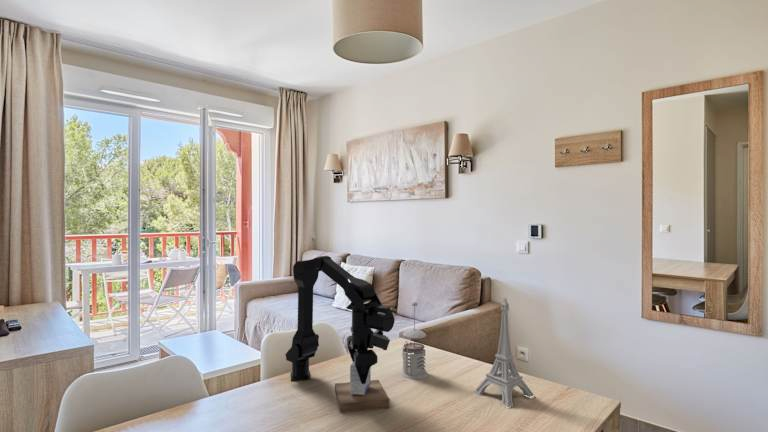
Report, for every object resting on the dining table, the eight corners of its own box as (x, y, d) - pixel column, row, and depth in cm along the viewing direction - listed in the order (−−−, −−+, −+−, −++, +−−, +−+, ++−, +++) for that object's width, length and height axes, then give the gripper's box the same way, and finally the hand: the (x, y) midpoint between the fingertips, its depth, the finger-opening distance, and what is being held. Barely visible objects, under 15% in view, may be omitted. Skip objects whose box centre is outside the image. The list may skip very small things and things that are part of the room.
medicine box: (364, 395, 119) (364, 366, 119) (349, 394, 120) (350, 364, 120) (370, 384, 127) (371, 356, 127) (356, 383, 128) (357, 355, 127)
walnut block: (334, 391, 128) (334, 383, 128) (378, 387, 132) (378, 379, 132) (340, 412, 115) (340, 403, 115) (389, 407, 118) (389, 399, 118)
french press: (432, 372, 145) (433, 301, 145) (417, 383, 135) (418, 307, 135) (408, 366, 150) (409, 298, 150) (391, 376, 140) (392, 303, 140)
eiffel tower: (500, 382, 137) (501, 292, 137) (535, 397, 126) (536, 299, 126) (472, 392, 129) (473, 297, 129) (508, 409, 118) (509, 304, 118)
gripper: (395, 333, 116) (394, 388, 116) (380, 316, 134) (379, 364, 134) (356, 335, 113) (355, 391, 113) (346, 318, 132) (346, 366, 132)
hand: (360, 377), depth 123 cm, fingers closed on medicine box, 9 cm apart
